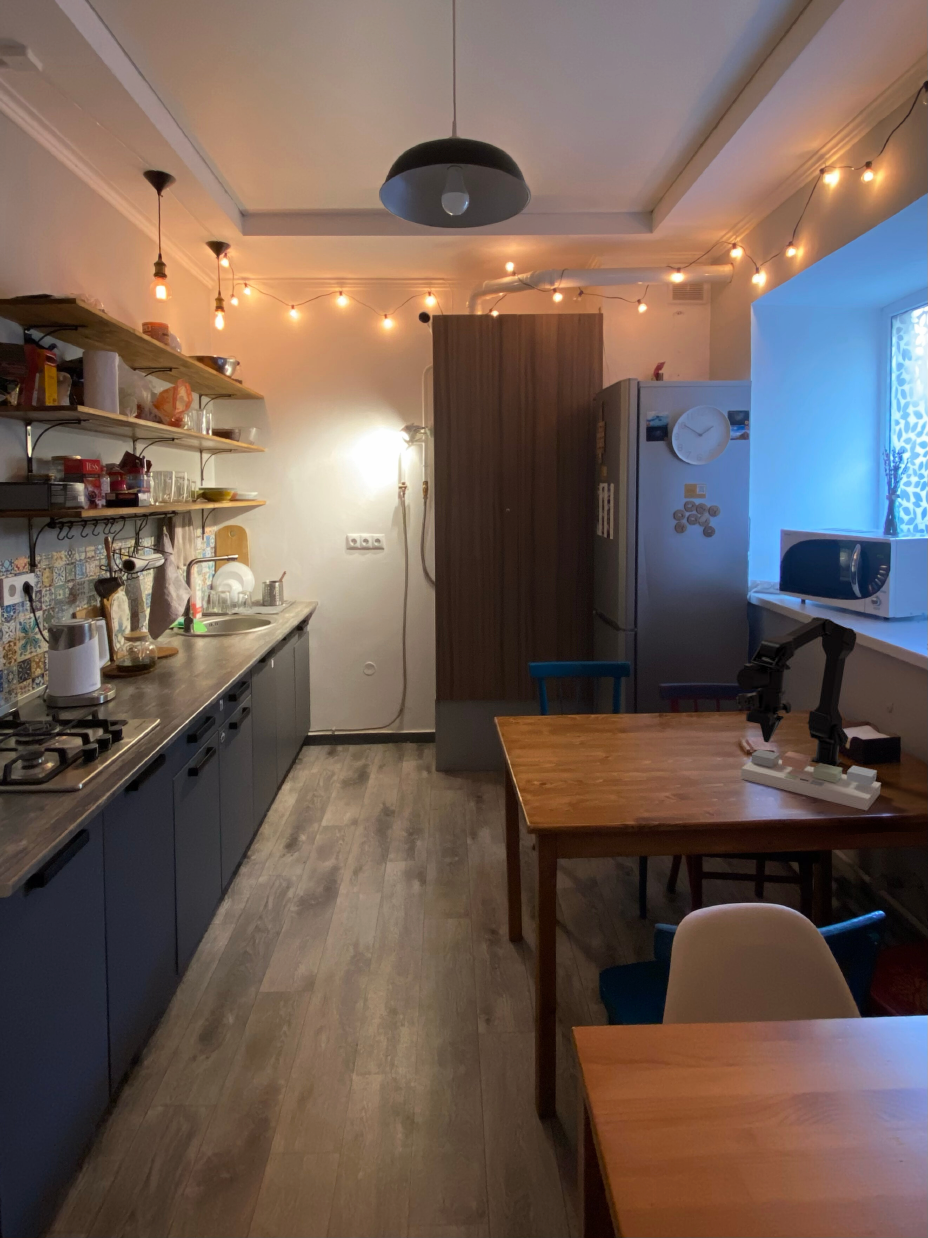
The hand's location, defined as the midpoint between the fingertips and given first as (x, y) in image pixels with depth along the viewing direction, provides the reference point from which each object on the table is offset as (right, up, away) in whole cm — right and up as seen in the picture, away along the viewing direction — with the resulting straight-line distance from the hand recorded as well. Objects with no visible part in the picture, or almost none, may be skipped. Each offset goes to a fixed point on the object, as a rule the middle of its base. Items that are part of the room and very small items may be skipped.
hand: (766, 742), depth 211 cm
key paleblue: (+19, -7, -14) cm, 25 cm away
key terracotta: (+6, -5, -4) cm, 9 cm away
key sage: (+12, -8, -9) cm, 17 cm away
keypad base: (+9, -11, -7) cm, 15 cm away
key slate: (0, -6, +1) cm, 6 cm away
